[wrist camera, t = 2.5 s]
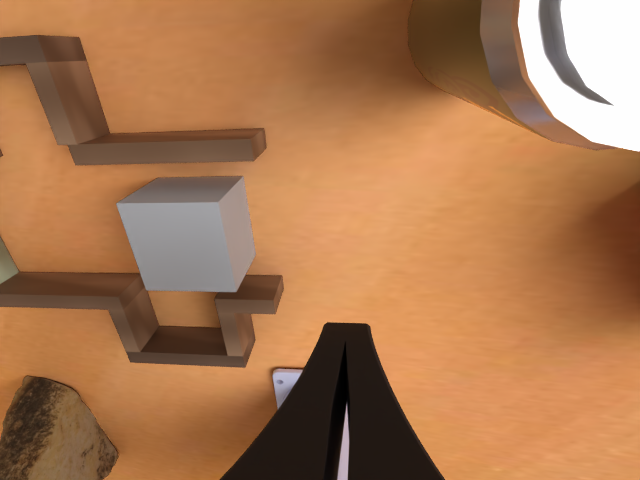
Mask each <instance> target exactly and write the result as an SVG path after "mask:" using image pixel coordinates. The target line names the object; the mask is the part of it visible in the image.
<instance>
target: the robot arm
mask: <svg viewBox="0 0 640 480" xmlns="http://www.w3.org/2000/svg"><path fill="white" fill-rule="evenodd" d="M272 377H273V383H274V389H275V395H276V402H277V408H278V410H277V412H276V413H275V414H274V416H273V417H272V419H271V420H270V421H269V423H268V424H267V425H266V427H265V428H264V429H263V430H262V432H261V433H260V434H259V435H258V437H257V438H256V439H255V440H254V441H253V443H252V444H251V445H250V446H249V448H248V449H247V450H246V451H245V452H244V454H243V455H242V456H241V457H240V458H239V459H238V460H237V462H236V463H235V464H234V465H233V466H232V467H231V468H230V469H229V470H228V471H227V472H226V473H225V474H224V475H223V477H222V478H221V479H220V480H445V479H444V477H443V476H442V474H441V473H440V472H439V470H438V469H437V467H436V466H435V464H434V463H433V461H432V460H431V458H430V456H429V455H428V453H427V452H426V450H425V449H424V447H423V445H422V444H421V442H420V440H419V439H418V437H417V435H416V434H415V432H414V430H413V429H412V427H411V425H410V423H409V422H408V420H407V418H406V416H405V414H404V412H403V410H402V409H401V407H400V405H399V403H398V401H397V399H396V397H395V395H394V393H393V390H392V388H391V386H390V384H389V382H388V379H387V377H386V375H385V372H384V370H383V368H382V365H381V363H380V360H379V357H378V354H377V352H376V349H375V345H374V342H373V338H372V334H371V328H370V326H369V325H368V324H362V323H328V322H327V323H326V324H325V325H324V327H323V330H322V332H321V335H320V337H319V340H318V342H317V344H316V346H315V348H314V350H313V352H312V354H311V356H310V358H309V360H308V362H307V364H306V366H305V367H304V369H303V370H298V369H276V370H274V371H273V376H272Z"/></svg>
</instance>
